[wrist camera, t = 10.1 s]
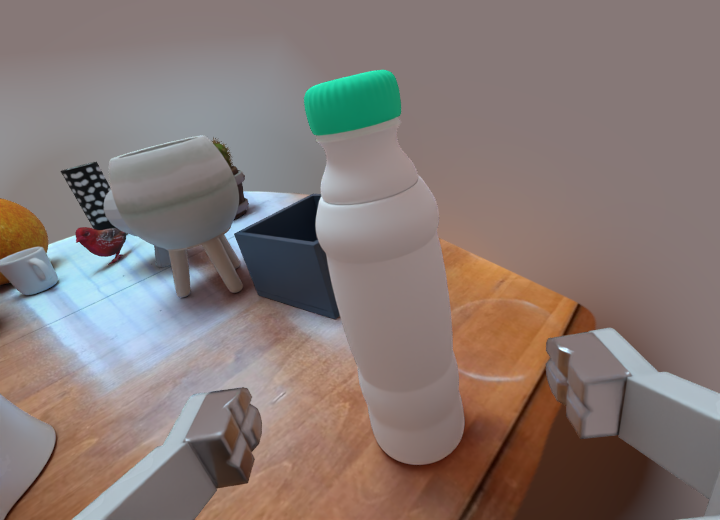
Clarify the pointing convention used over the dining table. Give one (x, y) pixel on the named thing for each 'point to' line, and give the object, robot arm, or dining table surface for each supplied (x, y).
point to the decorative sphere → (19, 231)
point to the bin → (290, 258)
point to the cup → (29, 270)
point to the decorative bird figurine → (102, 241)
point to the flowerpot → (238, 177)
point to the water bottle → (386, 268)
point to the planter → (180, 203)
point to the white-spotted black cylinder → (90, 192)
